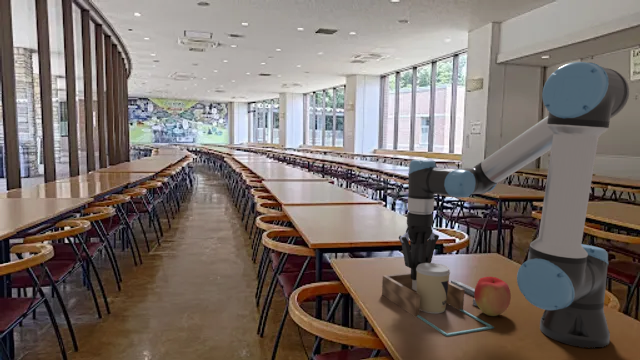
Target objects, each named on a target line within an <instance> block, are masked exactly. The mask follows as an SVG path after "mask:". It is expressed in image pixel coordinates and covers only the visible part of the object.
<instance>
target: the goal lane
mask: <svg viewBox="0 0 640 360" xmlns="http://www.w3.org/2000/svg"><path fill="white" fill-rule="evenodd" d="M459 311H460V312H461V313H463V314H465V315H467V316H469V317H471V318H472V319H474V320H476V321H477V322H480V323H481V324H482V325H485V326H483V327H482V326H481V327H478V328H472V329H466V330H465V329H464V330H460V331H453V332H448V333H447V332H445V331H444V330H442V329H441V328H439V327H438V326H436V325H435V324H434V323H432V322H430V321H428V320H427V319H426V318H425V317H423V316H421V315H420V314H419V315H417V317H416V318H418V319H420V320H421V321H423V322H424V323H426V324H427V325H429V326H430V327H432V328H433V329H435V330H436V331H438V332H439V333H440V334H442V335H444V336H445V337H451V336H452V337H453V336H456V335H463V334H468V333H473V332H479V331H486V330H491V329H495V326H493V325H492V324H490V323H488V322H486V321H484V320H482V319H481V318H479V317H477V316H475V315H473V314H472V313H470V312H468V311H467V310H465V309H464V308H463V309H460V310H459Z"/></svg>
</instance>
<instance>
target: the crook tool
mask: <svg viewBox="0 0 640 360" xmlns="http://www.w3.org/2000/svg"><path fill="white" fill-rule="evenodd" d="M450 283H452V284H454V285H456V286H458V287H460V288H462V289H464V294H468V295H469V296H472V297H474V292H475V287H471V286H470V285H468V284H465V283H463V282H460V281H458V280H456V279H451V280H450ZM472 305H473V306H475V307H476V308H479V307H478V305H477V304H476V301H475V298H473V299H472Z"/></svg>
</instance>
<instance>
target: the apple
mask: <svg viewBox="0 0 640 360" xmlns="http://www.w3.org/2000/svg"><path fill="white" fill-rule="evenodd" d="M474 289H475V292H474V296H473V297H474V299H475V301H476V304H477V305H478V307H477V308H479V310H480V311H481V312H482V313H483V314H485V315H487V316H490V317H496V316H499V315H501V314H503V313H504V312H505V311H506V310H508V308H509V307H510V304H511V299H512V298H511V297H512V295H511V289H510V286H509V285H508V283H507V282H506V281H504V280H502V279H501V278H498V277H494V276H482V277H480V278H479V279H478V281H477V283H476V285H475V287H474Z"/></svg>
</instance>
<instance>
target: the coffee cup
mask: <svg viewBox="0 0 640 360" xmlns="http://www.w3.org/2000/svg"><path fill="white" fill-rule="evenodd" d="M416 271H417V292H416V293H417V294H419V295H420V307H419V311H421V312H424V313H428V314H442V313H445V311H446V306H447V303H446V299H447V292H448V284H449V282H450V274H451V270H450V268H449V267H448V266H447V265H444V264H440V263H435V262H431V263H421V264H419V265H418V266H417V268H416Z"/></svg>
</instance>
